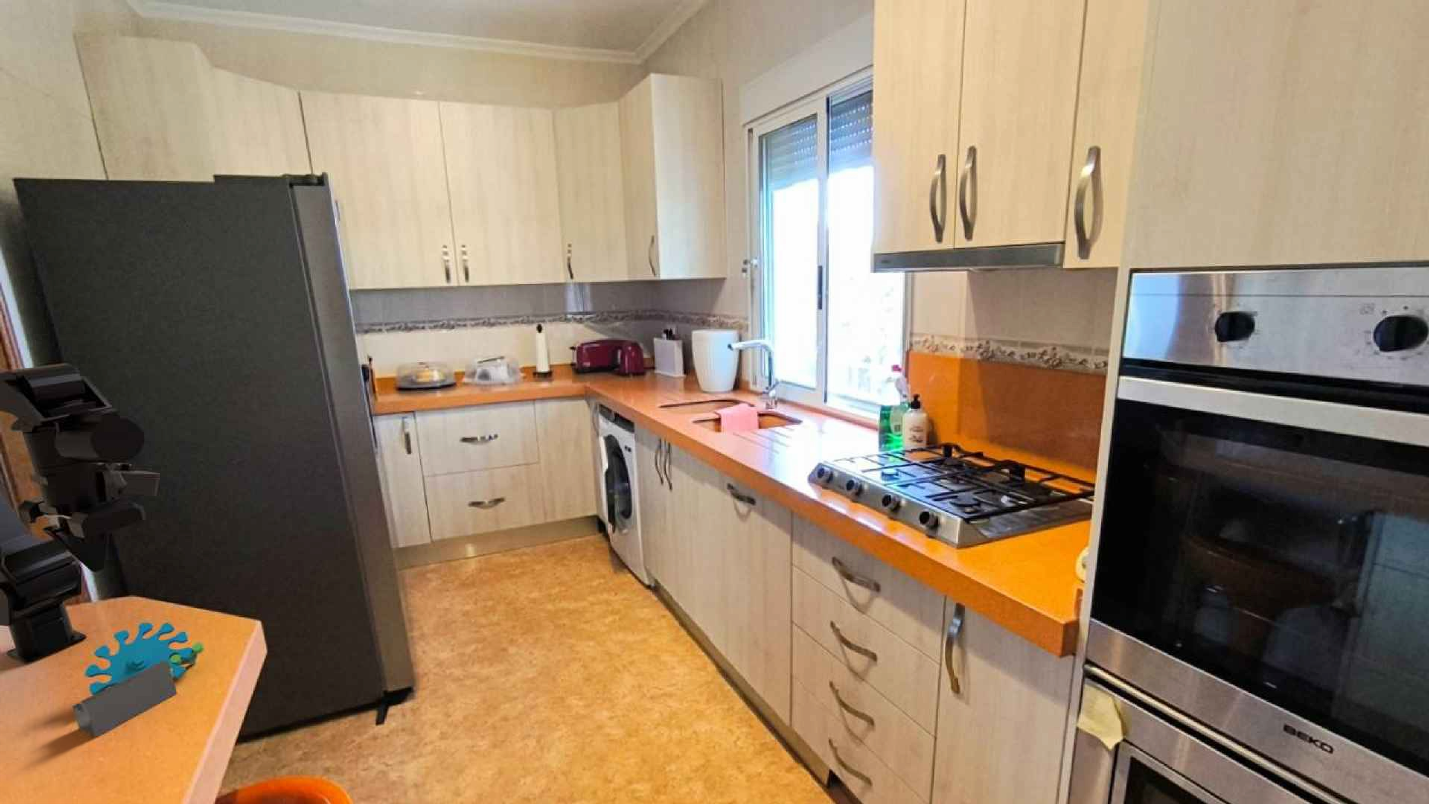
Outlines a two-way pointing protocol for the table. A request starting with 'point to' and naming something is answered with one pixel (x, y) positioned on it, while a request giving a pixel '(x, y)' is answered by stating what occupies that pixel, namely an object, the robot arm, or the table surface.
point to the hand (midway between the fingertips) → (98, 570)
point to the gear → (143, 655)
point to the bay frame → (125, 700)
